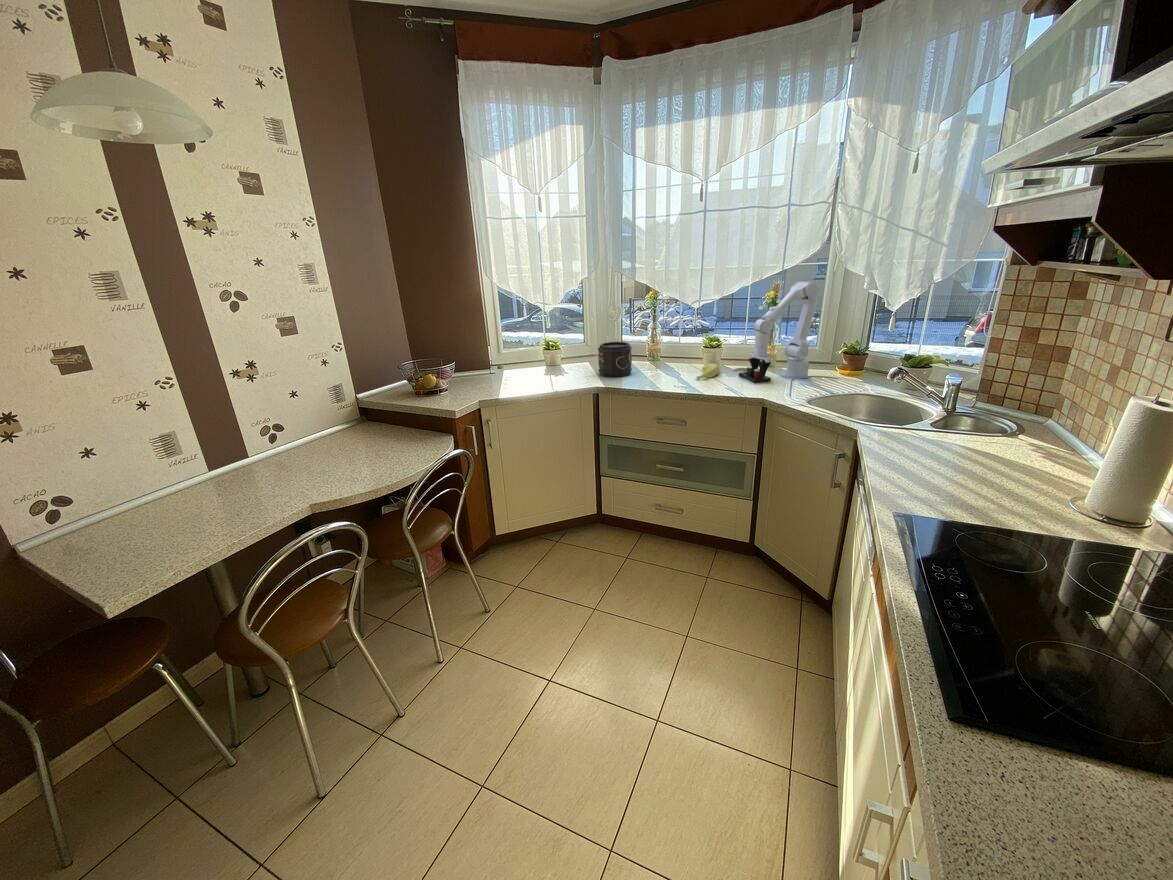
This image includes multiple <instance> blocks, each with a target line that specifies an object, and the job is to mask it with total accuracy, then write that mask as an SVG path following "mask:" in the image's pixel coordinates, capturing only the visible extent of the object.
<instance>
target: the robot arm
mask: <svg viewBox="0 0 1173 880" xmlns="http://www.w3.org/2000/svg"><path fill="white" fill-rule="evenodd" d="M819 292H820V287H819V286H818V284H817V283H816V282H815V281H802V280H799V281H796V282H795V283H794V284H793V285H792V286H791V287H790V290H789V291H788V293H787V294H786V295H785V296H784V297H783V299H781V301H780V302H779V303H778V304H777V305H774V306H772V307H769V309H768V311H767V312H766V313H765V314H764V315H762V316H761V318H758V319H757V320H756V321H755V322H754V324H753V327H752V328H753V330H754V334H755V335H754V348H753V352H750V353H749V357H750V358H748V361H749V363H750V366H751V367H752V373H754V369H760V376H761V377H762V376H766V373H767V371H768V369H769V367H770V366H771V364H772V361H771V359H772V358H771V357H770V356H768V344H769V337H770V336H769V335H770V332H771V331H772V330H773V326H774V325H775V324H776V322H777V321H778V320H779V319H780V318H781V317H782V316H783V313H784V311H785V310H786V309H787V308H788V307H789V306H790V305H792V303H794V302H795V301H796V300H799V299H800V300H801V302H802V303H803V305H802V309H801V311H800V314H799V318H798V322H797V326H796V329H795V331H794V335H793V337H792V338H791V339H790V340H789V341H788V344H787V345H786V346H785V349H784V354H785V356H786V359H787V360H786V368H785V369H786V371H785V374H782V375H781V376H782V377H785V378H788V379H790V380H794V379H801V380H802V379H809V377H810V376H808V375H809V369H810V368H809V367H810V361H809V359H807V357H808V355H809V347H810V344H809V343H808V340H807V339H808V338H807V337H808V335H809V332H810V329H811V325H812V322H813V318H814V315H815V312H816V309H817V306H818V301H819V297H818V295H819Z"/></svg>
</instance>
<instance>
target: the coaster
mask: <svg viewBox="0 0 1173 880" xmlns="http://www.w3.org/2000/svg"><path fill="white" fill-rule="evenodd" d="M734 371H736V372H739V373H740V372H747V367H736V368H734Z"/></svg>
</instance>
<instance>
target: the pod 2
mask: <svg viewBox="0 0 1173 880" xmlns="http://www.w3.org/2000/svg"><path fill="white" fill-rule="evenodd" d="M754 378H756V379H758V378H763V376H762V377H761V376H760V368H758V369H754Z"/></svg>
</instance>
